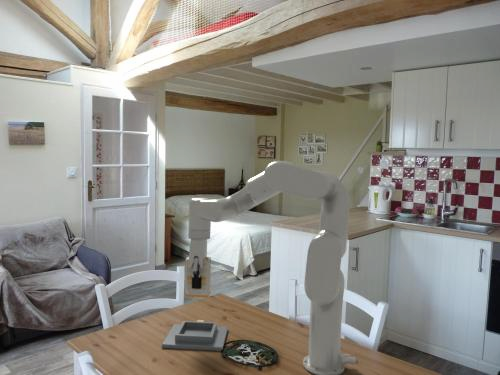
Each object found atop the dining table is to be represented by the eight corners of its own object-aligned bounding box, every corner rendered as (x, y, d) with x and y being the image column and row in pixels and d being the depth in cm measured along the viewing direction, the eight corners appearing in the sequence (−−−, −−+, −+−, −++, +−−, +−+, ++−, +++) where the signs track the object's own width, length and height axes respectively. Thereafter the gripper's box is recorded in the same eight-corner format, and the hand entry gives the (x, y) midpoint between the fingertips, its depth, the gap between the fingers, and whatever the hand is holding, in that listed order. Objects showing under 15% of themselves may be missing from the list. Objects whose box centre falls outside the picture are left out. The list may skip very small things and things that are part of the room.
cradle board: (227, 329, 148) (227, 320, 148) (222, 351, 131) (222, 340, 131) (174, 327, 149) (174, 317, 149) (161, 347, 132) (162, 337, 132)
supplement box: (210, 293, 141) (211, 256, 141) (207, 298, 136) (208, 260, 136) (187, 292, 142) (188, 255, 141) (184, 296, 137) (185, 258, 137)
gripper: (193, 229, 147) (191, 278, 148) (183, 237, 130) (181, 293, 131) (213, 230, 146) (212, 279, 147) (206, 238, 129) (204, 294, 130)
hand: (198, 285), depth 139 cm, fingers closed on supplement box, 5 cm apart
